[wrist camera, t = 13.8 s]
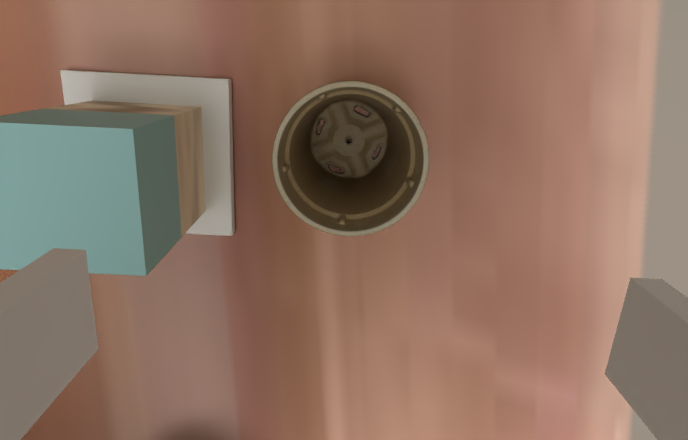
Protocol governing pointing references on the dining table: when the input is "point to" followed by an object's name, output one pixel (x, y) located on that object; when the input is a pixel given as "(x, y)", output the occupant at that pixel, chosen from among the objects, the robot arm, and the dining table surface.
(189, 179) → the beech block
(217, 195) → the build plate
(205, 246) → the dining table surface
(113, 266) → the teal block
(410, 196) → the flower pot
